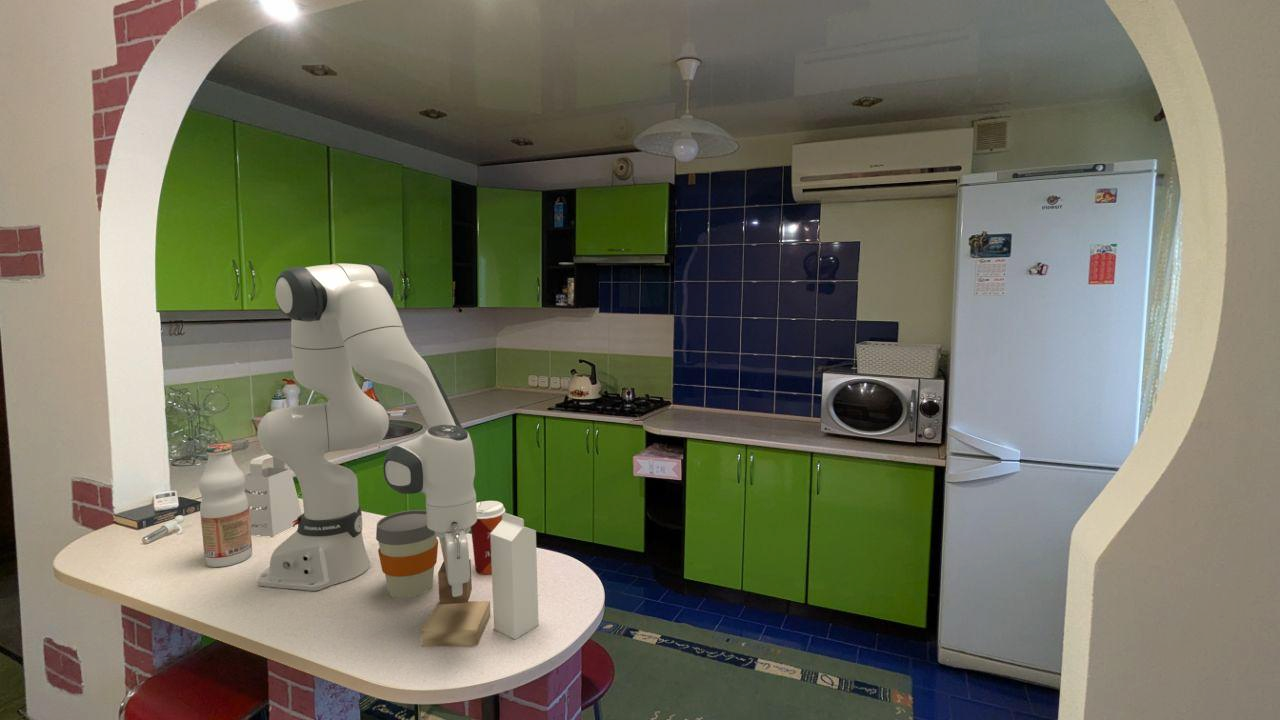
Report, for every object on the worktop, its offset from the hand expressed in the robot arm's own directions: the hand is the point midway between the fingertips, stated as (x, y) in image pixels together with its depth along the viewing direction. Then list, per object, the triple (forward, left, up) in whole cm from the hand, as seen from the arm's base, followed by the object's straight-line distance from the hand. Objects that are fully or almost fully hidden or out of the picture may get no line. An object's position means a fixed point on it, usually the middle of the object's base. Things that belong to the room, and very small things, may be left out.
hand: (455, 585), depth 110 cm
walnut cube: (0, 0, -2) cm, 2 cm away
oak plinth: (0, 0, -9) cm, 9 cm away
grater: (-65, +51, -9) cm, 83 cm away
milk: (+11, +1, -9) cm, 14 cm away
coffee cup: (0, +25, -9) cm, 27 cm away
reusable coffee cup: (-15, +17, -9) cm, 25 cm away
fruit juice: (-64, +32, -9) cm, 72 cm away
